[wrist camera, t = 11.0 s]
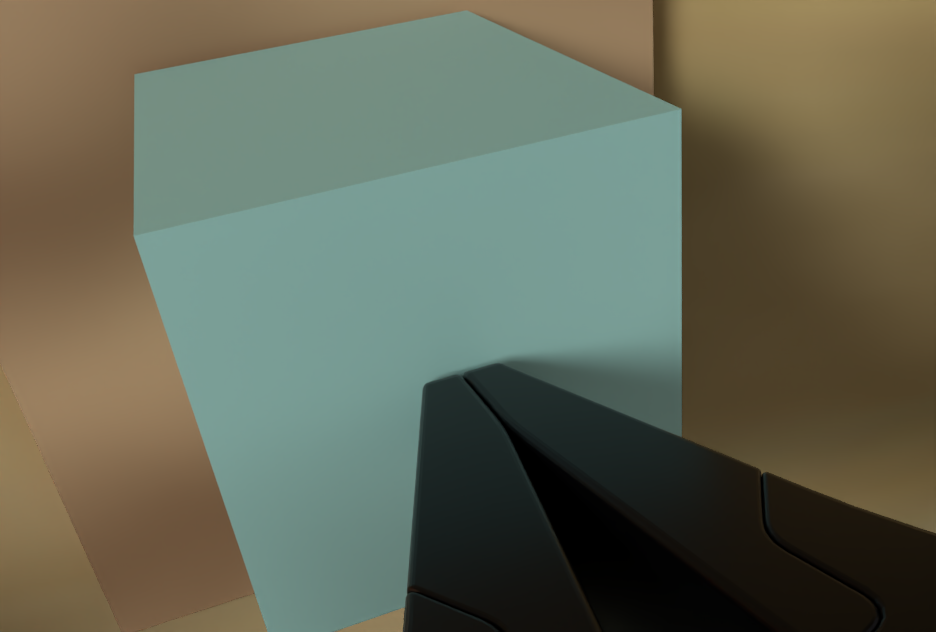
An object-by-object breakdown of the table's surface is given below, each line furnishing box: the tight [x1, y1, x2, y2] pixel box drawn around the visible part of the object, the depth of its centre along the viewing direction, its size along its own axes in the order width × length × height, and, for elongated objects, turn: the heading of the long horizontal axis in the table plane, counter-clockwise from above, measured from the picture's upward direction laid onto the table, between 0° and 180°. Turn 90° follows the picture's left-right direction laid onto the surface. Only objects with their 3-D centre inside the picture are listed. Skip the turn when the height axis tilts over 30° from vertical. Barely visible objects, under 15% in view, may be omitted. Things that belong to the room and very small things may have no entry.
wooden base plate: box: [0, 0, 654, 632], centre depth 13 cm, size 16×12×7 cm
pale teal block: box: [134, 10, 682, 632], centre depth 12 cm, size 5×5×7 cm
